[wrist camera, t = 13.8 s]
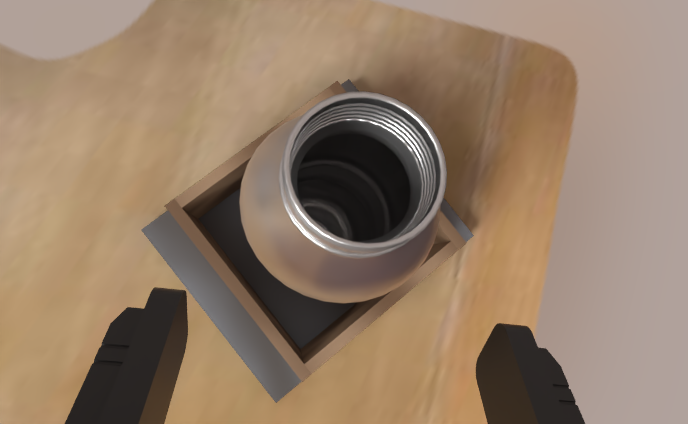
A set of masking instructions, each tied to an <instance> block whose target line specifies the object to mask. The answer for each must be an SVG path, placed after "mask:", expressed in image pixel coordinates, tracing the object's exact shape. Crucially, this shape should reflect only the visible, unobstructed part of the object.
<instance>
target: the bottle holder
mask: <svg viewBox="0 0 688 424" xmlns="http://www.w3.org/2000/svg"><path fill="white" fill-rule="evenodd" d="M347 92H359V91H358V90H357V89H356V87H355V86H354V85H353V84H352V82H351V81H350V80H349V79H348V80H347V81H346V82H344V83H343V84H342V85H340V83H339V82H338V81H336V82H335V83H334V84H332V85H331V86H330V87H328V88H327V89H325V90H324V91H323V92H321V93H320V94H318V95H317V96H316V97H314V98H313V99H312V100H310V101H309V102H307V103H306V104H305V105H303V106H302V107H300V108H299V109H298V110H296V111H295V112H294V113H292V114H291V115H289V116H288V117H287V118H285V119H284V120H282V121H281V122H280V123H278V124H277V125H276V126H274V127H273V128H271V129H270V130H269V131H267V132H266V133H265V134H263V135H262V136H260V137H259V138H258V139H256V140H255V141H253V142H252V143H251V144H249V145H248V146H247V147H245V148H244V149H242V150H241V151H240V152H238V153H237V154H235V155H234V156H233V157H231V158H230V159H229V160H227V161H226V162H224V163H223V164H222V165H220V166H219V167H217V168H216V169H215V170H213V171H212V172H211V173H209V174H208V175H206V176H205V177H204V178H202V179H201V180H199V181H198V182H197V183H195V184H194V185H193V186H191V187H190V188H188V189H187V190H186V191H184V192H183V193H181V194H180V195H179V196H177V197H176V198H175V199H173V200H172V201H170V202H169V203H168V204H166V205H165V207H166V208H167V210H168V211H166V212H165V213H164V214H162V215H161V216H160V217H158V218H157V219H155V220H154V221H153V222H151V223H150V224H149V225H147V226H146V227H144V228H143V229H142V232H143V233H144V234H145V235H146V237H147V238H148V239H149V241H150V242H151V243H152V244H153V246H154V247H155V248H156V250H157V251H158V252H159V253H160V255H161V256H162V257H163V259H164V260H165V261H166V262H167V264H168V265H169V266H170V268H171V269H172V270H173V271H174V273H175V274H176V275H177V276H178V278H179V279H180V280H181V282H182V283H183V284H184V285H185V287H186V288H187V289H188V291H189V292H190V293H191V294H192V296H193V297H194V298H195V300H196V301H197V302H198V303H199V305H200V306H201V307H202V309H203V310H204V311H205V312H206V314H207V315H208V316H209V318H210V319H211V320H212V321H213V323H214V324H215V325H216V327H217V328H218V329H219V330H220V332H221V333H222V334H223V336H224V337H225V338H226V339H227V341H228V342H229V343H230V345H231V346H232V347H233V348H234V350H235V351H236V352H237V353H238V355H239V356H240V357H241V359H242V360H243V361H244V362H245V364H246V365H247V366H248V368H249V369H250V370H251V371H252V373H253V374H254V375H255V377H256V378H257V379H258V380H259V382H260V383H261V384H262V386H263V387H264V388H265V389H266V391H267V392H268V393H269V395H270V396H271V397H272V398H273V400H274V401H275V402H276V403H277V402H278V401H279V400H280V399H281V398H283V397H284V396H285V395H286V394H287V393H288V392H290V391H291V390H292V389H293V388H294V387H296V386H297V385H298V384H299V383H300V382H301V381H302V382H303V381H304V380H305V379H306V378H307V377H309V376H310V375H311V374H312V373H313V372H315V371H316V370H317V369H318V368H319V367H320V366H322V365H323V364H324V363H325V362H326V361H328V360H329V359H330V358H331V357H332V356H333V355H335V354H336V353H337V352H338V351H339V350H341V349H342V348H343V347H344V346H345V345H346V344H348V343H349V342H350V341H351V340H352V339H354V338H355V337H356V336H357V335H358V334H359V333H361V332H362V331H363V330H364V329H365V328H366V327H368V326H369V325H370V324H371V323H372V322H374V321H375V320H376V319H377V318H378V317H379V316H381V315H382V314H383V313H384V312H385V311H387V310H388V309H389V308H390V307H391V306H392V305H394V304H395V303H396V302H397V301H398V300H400V299H401V298H402V297H403V296H404V295H405V294H407V293H408V292H409V291H410V290H411V289H413V288H414V287H415V286H416V285H417V284H418V283H420V282H421V281H422V280H423V279H424V278H426V277H427V276H428V275H429V274H430V273H431V272H433V271H434V270H435V269H436V268H437V267H439V266H440V265H441V264H442V263H443V262H444V261H446V260H447V259H448V258H449V257H450V256H452V255H453V254H454V253H455V252H456V251H457V250H459V249H460V248H461V247H462V246H463V245H465V244H466V242H467V241H468V240H469V239H470V238H472V237H473V236H474V235H473V234H472V233H471V232H470V230H469V229H468V228H467V227H466V225H465V224H464V223H463V222H462V220H461V219H460V218H459V217H458V215H457V214H456V213H455V212H454V210H453V209H452V208H451V207H450V205H449V204H448V203H447V201H446V200H445V199H444V198H443V200H442V203H441V206H440V221H439V225H438V229H437V233H436V237H435V241H434V244H433V246H432V248H431V250H430V252H429V254H428V256H427V258H426V260H425V261H424V262H423V264H422V265H421V266H420V267H419V269H418V270H417V271H416V272H415V274H414V275H413V276H411V277H410V278H409V279H408V280H407V281H406V282H404V283H403V284H402V285H401V286H399V287H398V288H396V289H394V290H392V291H390V292H388V293H387V294H385V295H383V296H380V297H377V298H373V299H370V300H367V301H362V302H352V303H336V302H325V301H321V300H318V299H314V298H311V297H308V296H304V295H302V294H300V293H299V292H297V291H295V290H293V289H291V288H289V287H287V286H286V285H284V284H283V283H282V282H281V281H279V280H278V279H277V278H275V277H274V276H273V275H272V274H270V272H269V271H268V270H267V269H266V268H265V267H264V265H263V264H262V263H261V262H260V261H259V259H258V258H257V257H256V255H255V253H254V251H253V250H252V248H251V246H250V244H249V242H248V241H247V238H246V234H245V231H244V228H243V225H242V222H241V213H240V203H239V201H240V191H241V182H242V179H243V176H244V173H245V170H246V167H247V164H248V163H249V161H250V159H251V157H252V156H253V154H254V152H255V150H256V149H257V147H258V146H259V145H260V144H261V143H262V142H263V141H264V140H265V139H266V137H267V136H268V135H269V134H270V133H272V132H273V131H274V130H276V129H277V128H279V127H280V126H281V125H283V124H284V123H286V122H288V121H290V120H292V119H294V118H297V117H299V116H301V115H303V114H305V113H306V112H307V111H308V110H309V109H311V108H312V107H313V106H315V105H316V104H317V103H319V102H321V101H323V100H325V99H327V98H329V97H332V96H334V95H338V94H343V93H347Z"/></svg>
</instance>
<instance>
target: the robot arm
mask: <svg viewBox="0 0 688 424" xmlns="http://www.w3.org/2000/svg"><path fill="white" fill-rule="evenodd" d="M187 335H188V320H187V296H186V291H185V290H175V289H166V288H156V287H155V288H153V290H152V291H151V294H150V296H149V298H148V301H147V303H146V306H145V308H144V309H141V308H130V307H127V308H126V309H125V310H124V311H123V312H122V313H121V314H120V315H119V316H118V317H117V318H116V319H115V320H114V321H113V322H112V323H111V324H110V326H109V328H108V331H107V333H106V335H105V337H104V339H103V342H102V346H101V347H100V348H99V350H98V352H97V355H96V357H95V359H94V363H93V364H92V366H91V368H90V370H89V372H88V374H87V376H86V379H85V381H84V383H83V385H82V387H81V390H80V392H79V394H78V396H77V398H76V400H75V403H74V405H73V407H72V409H71V411H70V414H69V416H68V418H67V420H66V422H65V424H164V422H165V419H166V415H167V412H168V408H169V405H170V401H171V398H172V394H173V391H174V388H175V384H176V381H177V377H178V374H179V370H180V367H181V363H182V360H183V357H184V353H185V348H186V343H187ZM476 379H477V384H478V388H479V391H480V395H481V399H482V403H483V407H484V411H485V414H486V418H487V422H488V424H585V422H584V420H583V418H582V415H581V413H580V411H579V408H578V406H577V405H575V399H574V397H573V394H572V392H571V390H570V389H569V388H568V387H569V385H568V382H567V380H566V378H565V375H564V373H563V371H562V368H561V366H560V365H559V364H558V363H557V361H556V360H555V359H554V358H553V356H552V355H551V354H550V353H549V352H548V350H547V349H544V348H538V347H537V344H536V342H535V339H534V336H533V334H532V332H531V330H530V329H529V328H528V327H527V326H521V325H511V324H501V323H499V324H497V325H496V326H495V327H494V329H493V331H492V332H491V334H490V336H489V338H488V340H487V342H486V344H485V345H484V347H483V349H482V351H481V353H480V355H479V357H478V359H477V363H476Z"/></svg>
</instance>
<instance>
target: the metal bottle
mask: <svg viewBox="0 0 688 424" xmlns="http://www.w3.org/2000/svg"><path fill="white" fill-rule="evenodd" d="M446 179H447V169H446V162H445V156H444V153H443V150H442V147H441V145H440V142H439V140H438V138H437V137H436V135H435V133H434V132H433V130H432V128H431V127H430V126H429V125H428V123H427V122H426V121H425V120H424V119H423V118H422V117H421V116H420V115H419V114H418V113H417V112H415V111H414V110H413V109H412V108H410V107H409V106H407V105H406V104H404V103H402V102H400V101H398V100H397V99H395V98H392V97H389V96H386V95H383V94H379V93H372V92H365V91H361V92H347V93H343V94H338V95H334V96H332V97H329V98H327V99H325V100H323V101H321V102H319V103H317V104H316V105H315V106H313V107H312V108H311V109H309V110H308V111H307V112H306V113H305V114H303V115H301V116H299V117H297V118H294V119H292V120H290V121H288V122H286V123H284V124H283V125H281V126H280V127H279V128H277V129H276V130H274V131H273V132H272V133H270V134H269V135H268V136H267V137H266V139H265V140H264V141H263V142H262V143H261V144H260V145H259V146H258V147H257V149H256V150H255V152H254V154H253V156H252V157H251V159H250V161H249V163H248V164H247V167H246V170H245V173H244V176H243V179H242V182H241V191H240V201H239V203H240V213H241V222H242V225H243V228H244V231H245V234H246V238H247V241H248V242H249V244H250V246H251V248H252V250H253V251H254V253H255V255H256V257H257V258H258V259H259V261H260V262H261V263H262V264H263V265H264V267H265V268H266V269H267V270H268V271H269V272H270V274H272V275H273V276H274V277H275V278H277V279H278V280H279V281H281V282H282V283H283V284H284V285H286V286H287V287H289V288H291V289H293V290H295V291H297V292H299V293H300V294H302V295H304V296H308V297H311V298H314V299H318V300H321V301H325V302H336V303H352V302H362V301H367V300H370V299H373V298H377V297H380V296H383V295H385V294H387V293H388V292H390V291H392V290H394V289H396V288H398V287H399V286H401V285H402V284H403V283H404V282H406V281H407V280H408V279H409V278H410V277H411V276H413V275H414V274H415V272H416V271H417V270H418V269H419V267H420V266H421V265H422V264H423V262H424V261H425V260H426V258H427V256H428V254H429V252H430V250H431V248H432V246H433V244H434V241H435V237H436V233H437V229H438V225H439V221H440V206H441V203H442V200H443V197H444V193H445V189H446Z"/></svg>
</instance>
